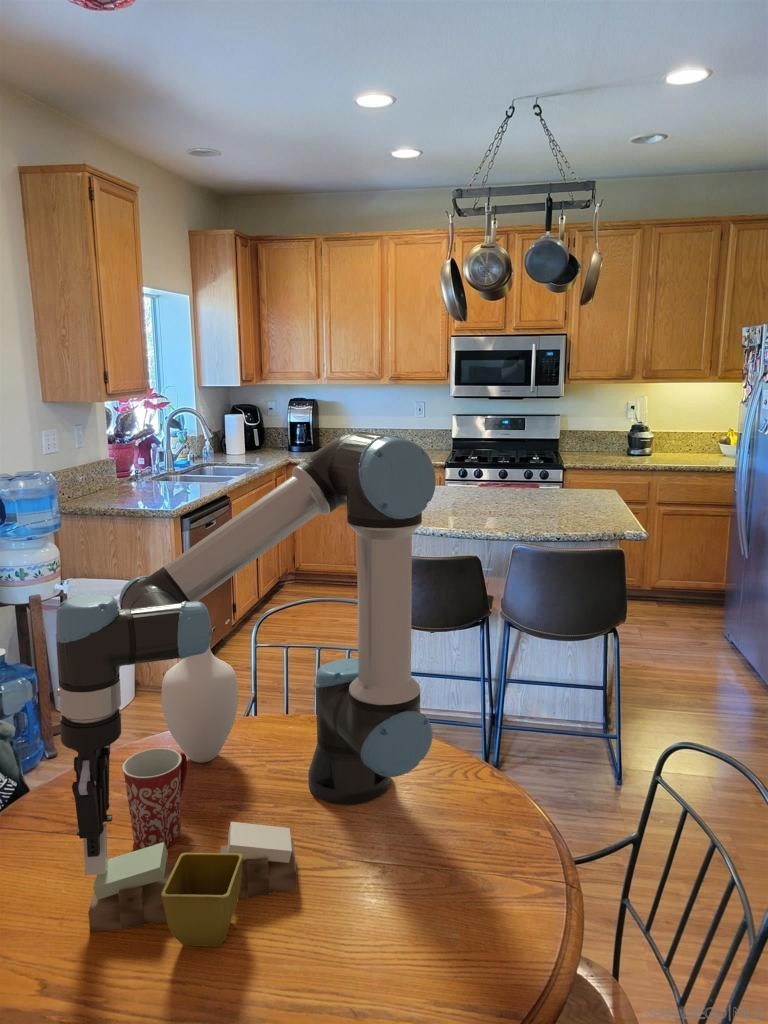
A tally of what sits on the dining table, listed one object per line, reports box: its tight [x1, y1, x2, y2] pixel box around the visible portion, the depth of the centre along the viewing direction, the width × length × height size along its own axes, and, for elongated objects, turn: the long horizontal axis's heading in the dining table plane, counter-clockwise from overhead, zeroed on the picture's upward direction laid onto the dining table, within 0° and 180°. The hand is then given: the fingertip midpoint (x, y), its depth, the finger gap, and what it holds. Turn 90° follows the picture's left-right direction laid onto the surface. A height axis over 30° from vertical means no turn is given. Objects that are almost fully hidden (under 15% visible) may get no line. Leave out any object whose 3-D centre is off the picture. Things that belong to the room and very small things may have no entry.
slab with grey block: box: [87, 863, 176, 933], centre depth 102 cm, size 11×8×5 cm
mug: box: [121, 747, 188, 850], centre depth 118 cm, size 13×9×14 cm
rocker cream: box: [227, 821, 292, 863], centre depth 108 cm, size 9×6×2 cm, turn 101°
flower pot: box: [161, 852, 243, 947], centre depth 97 cm, size 9×9×9 cm
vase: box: [161, 645, 239, 763], centre depth 140 cm, size 14×14×28 cm
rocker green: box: [92, 842, 169, 900], centre depth 102 cm, size 9×6×2 cm, turn 100°
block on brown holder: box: [219, 837, 298, 899], centre depth 108 cm, size 11×8×5 cm
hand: (96, 870), depth 101 cm, fingers closed
